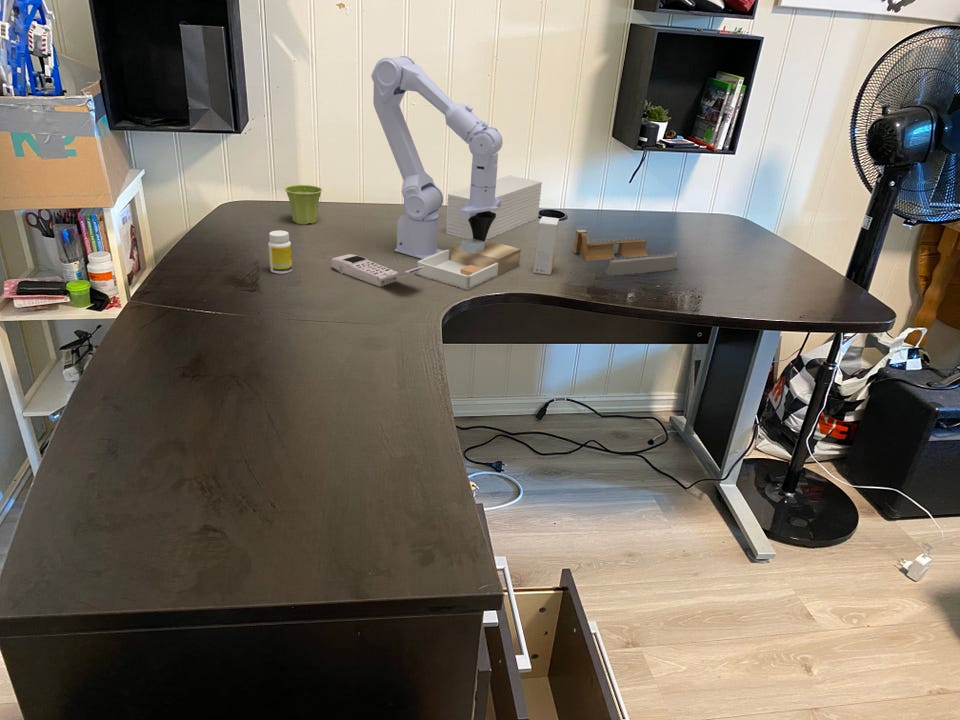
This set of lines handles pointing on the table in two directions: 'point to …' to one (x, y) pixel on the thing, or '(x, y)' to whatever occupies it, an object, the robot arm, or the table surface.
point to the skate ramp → (625, 250)
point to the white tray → (453, 271)
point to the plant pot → (304, 203)
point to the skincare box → (546, 245)
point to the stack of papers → (514, 211)
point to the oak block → (488, 256)
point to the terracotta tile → (470, 270)
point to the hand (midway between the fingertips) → (479, 243)
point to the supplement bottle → (280, 252)
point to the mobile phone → (367, 270)
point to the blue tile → (472, 245)
